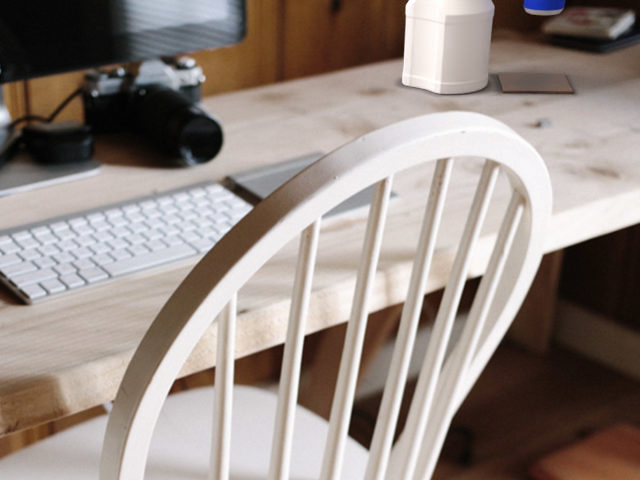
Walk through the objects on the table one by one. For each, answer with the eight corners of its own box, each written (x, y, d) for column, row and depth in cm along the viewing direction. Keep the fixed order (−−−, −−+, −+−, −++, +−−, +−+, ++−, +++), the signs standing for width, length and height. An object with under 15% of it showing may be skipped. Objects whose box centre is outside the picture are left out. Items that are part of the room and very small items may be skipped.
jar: (389, 82, 141) (394, -34, 134) (434, 69, 147) (442, -43, 139) (454, 98, 134) (464, -24, 126) (500, 84, 139) (512, -34, 131)
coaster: (563, 75, 142) (563, 73, 142) (572, 93, 135) (573, 91, 135) (497, 75, 143) (497, 73, 143) (503, 92, 136) (503, 90, 135)
